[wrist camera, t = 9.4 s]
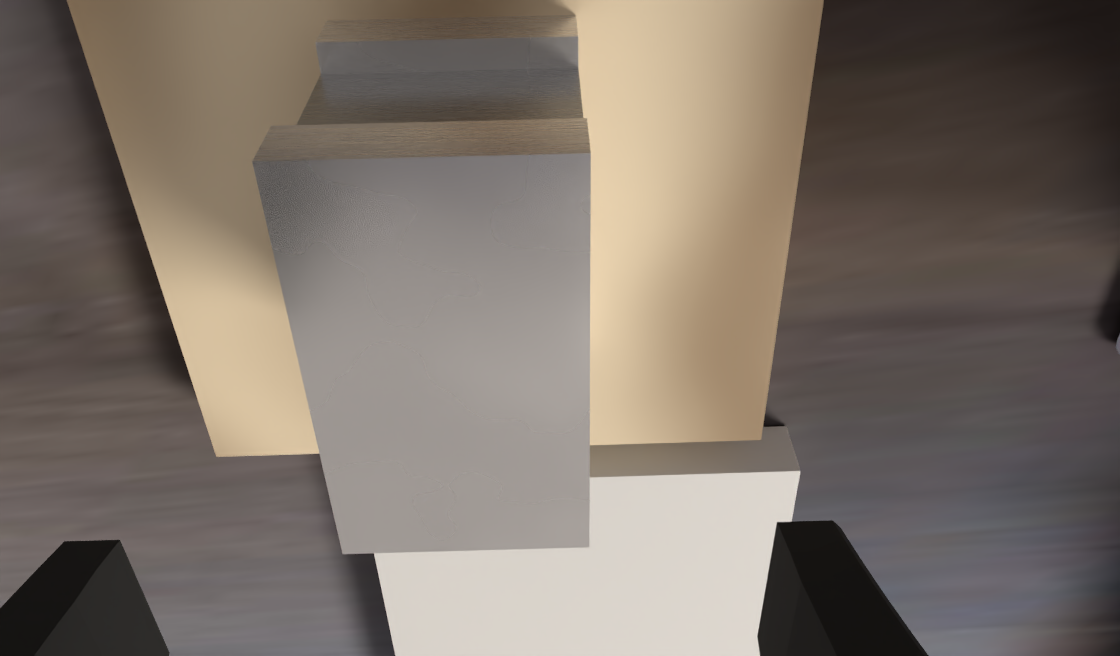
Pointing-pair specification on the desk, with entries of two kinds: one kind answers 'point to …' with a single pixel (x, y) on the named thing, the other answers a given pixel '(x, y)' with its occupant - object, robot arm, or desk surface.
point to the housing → (441, 279)
